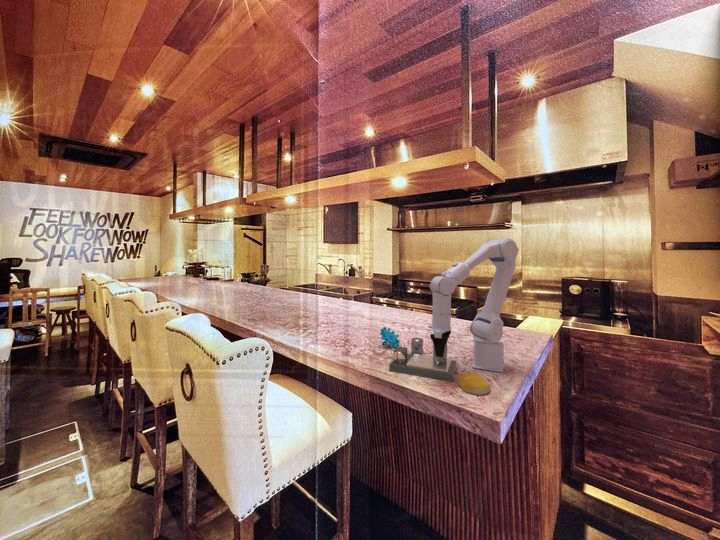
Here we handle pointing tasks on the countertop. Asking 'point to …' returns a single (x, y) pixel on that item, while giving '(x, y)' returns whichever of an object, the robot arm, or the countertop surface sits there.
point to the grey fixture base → (421, 365)
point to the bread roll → (474, 383)
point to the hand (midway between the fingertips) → (440, 354)
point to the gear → (389, 337)
